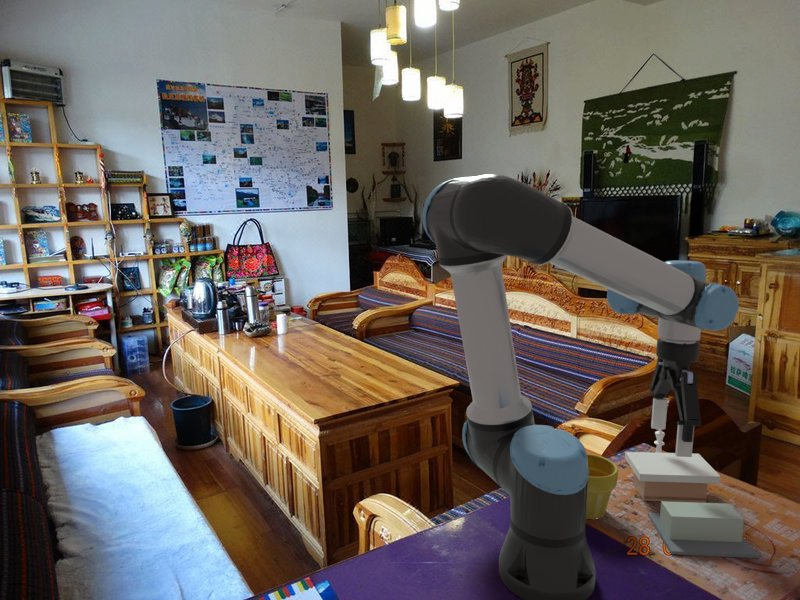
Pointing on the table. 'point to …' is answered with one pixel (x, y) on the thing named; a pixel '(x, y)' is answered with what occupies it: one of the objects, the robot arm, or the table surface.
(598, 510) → the plant pot
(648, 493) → the open box
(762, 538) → the table surface
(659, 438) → the chess piece
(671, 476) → the board
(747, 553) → the stand
